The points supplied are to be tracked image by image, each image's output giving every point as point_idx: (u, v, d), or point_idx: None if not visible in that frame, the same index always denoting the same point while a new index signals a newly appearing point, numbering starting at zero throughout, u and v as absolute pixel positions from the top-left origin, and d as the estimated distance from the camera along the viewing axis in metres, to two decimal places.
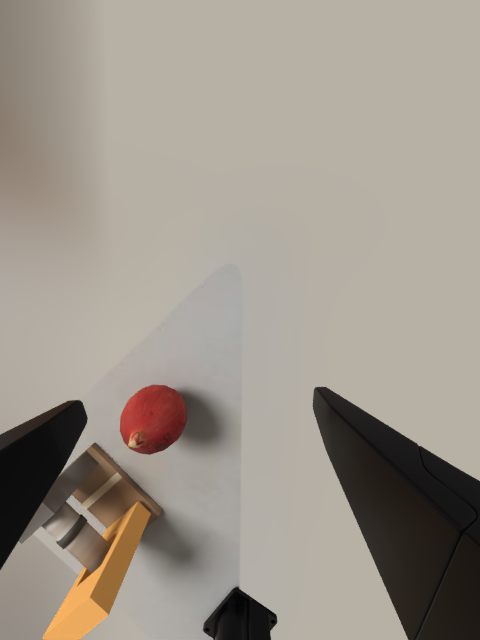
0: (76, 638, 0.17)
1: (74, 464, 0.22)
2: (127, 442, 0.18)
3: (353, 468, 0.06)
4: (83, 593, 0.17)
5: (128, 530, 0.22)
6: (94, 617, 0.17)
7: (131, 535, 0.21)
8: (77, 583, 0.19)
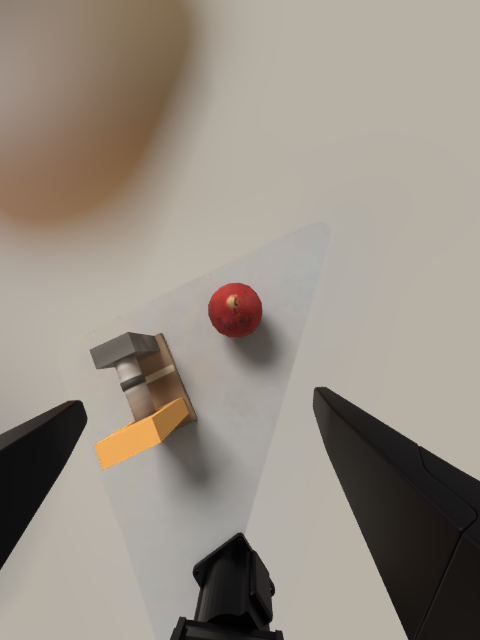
0: (123, 456, 0.17)
1: (147, 336, 0.25)
2: (219, 307, 0.21)
3: (353, 468, 0.06)
4: (139, 422, 0.18)
5: (175, 406, 0.23)
6: (147, 440, 0.17)
7: (176, 412, 0.22)
8: (123, 428, 0.20)
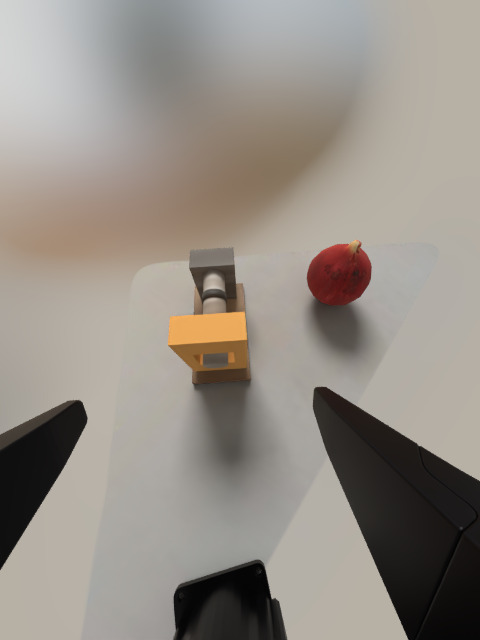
0: (197, 339, 0.14)
1: None
2: (334, 253, 0.20)
3: (353, 468, 0.06)
4: None
5: None
6: (232, 332, 0.14)
7: None
8: None
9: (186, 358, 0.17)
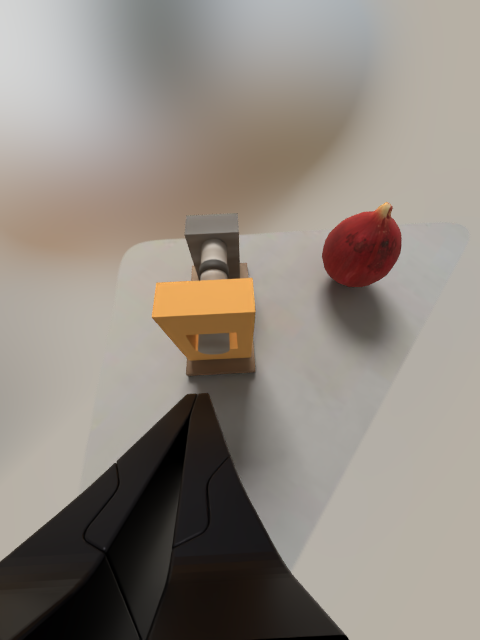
0: (191, 310, 0.11)
1: None
2: (358, 221, 0.16)
3: None
4: None
5: None
6: (236, 302, 0.11)
7: None
8: None
9: (178, 340, 0.14)
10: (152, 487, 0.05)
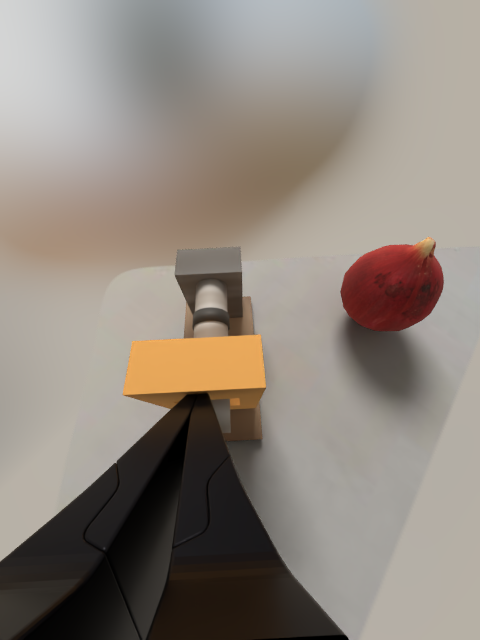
0: (177, 384, 0.08)
1: None
2: (390, 258, 0.13)
3: None
4: None
5: None
6: (239, 372, 0.08)
7: None
8: None
9: (164, 404, 0.11)
10: (152, 487, 0.05)
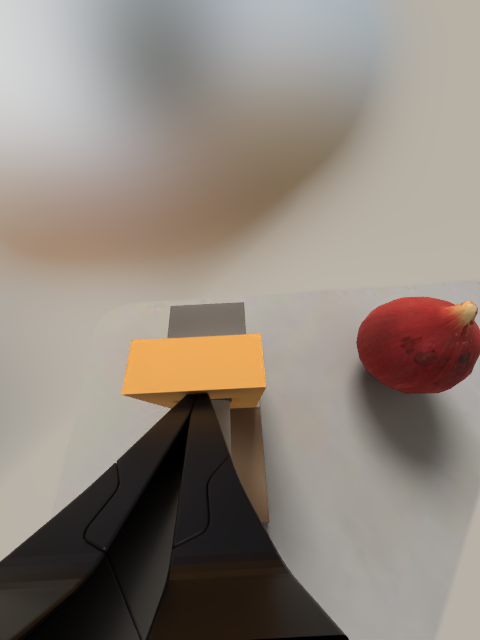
0: (176, 383, 0.08)
1: None
2: (420, 319, 0.11)
3: None
4: None
5: None
6: (239, 372, 0.08)
7: None
8: None
9: (163, 403, 0.11)
10: (152, 487, 0.05)
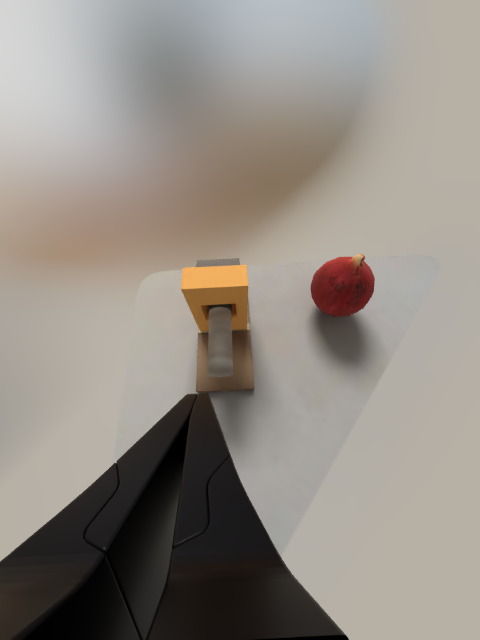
0: (206, 284, 0.17)
1: None
2: (338, 266, 0.20)
3: None
4: None
5: None
6: (235, 280, 0.17)
7: None
8: None
9: (194, 310, 0.19)
10: (152, 487, 0.05)
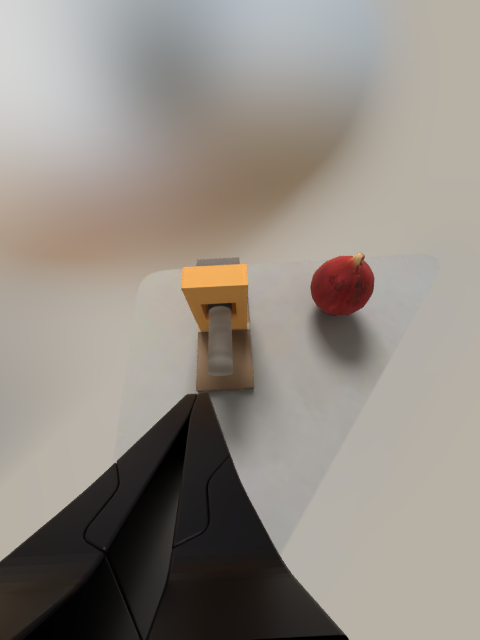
0: (206, 283, 0.17)
1: None
2: (338, 265, 0.20)
3: None
4: None
5: None
6: (235, 279, 0.17)
7: None
8: None
9: (195, 309, 0.19)
10: (152, 487, 0.05)
